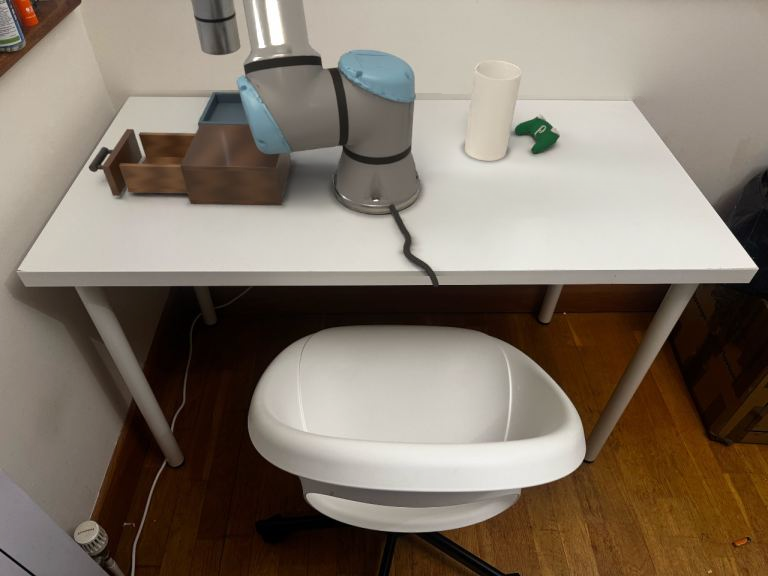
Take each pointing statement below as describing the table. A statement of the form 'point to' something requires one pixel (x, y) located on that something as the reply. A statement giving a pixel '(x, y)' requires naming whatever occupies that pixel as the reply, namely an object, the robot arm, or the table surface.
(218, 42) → the steel travel flask
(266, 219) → the table surface
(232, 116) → the tray
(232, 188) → the cabinet
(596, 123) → the table surface
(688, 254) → the table surface
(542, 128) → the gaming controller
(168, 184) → the drawer
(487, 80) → the cup
